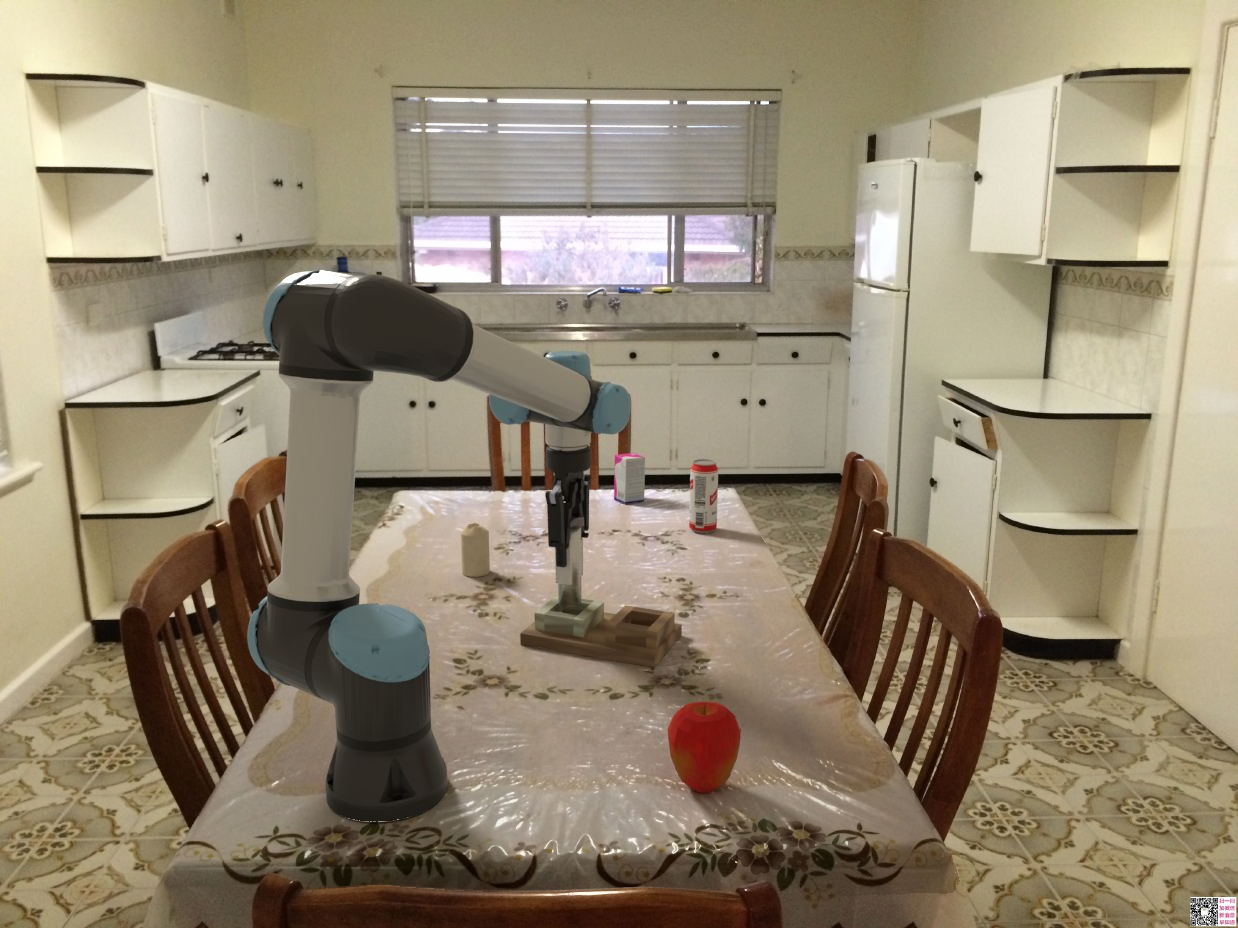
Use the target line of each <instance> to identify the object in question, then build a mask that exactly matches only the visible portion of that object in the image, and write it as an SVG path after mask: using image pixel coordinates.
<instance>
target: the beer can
mask: <svg viewBox="0 0 1238 928" xmlns="http://www.w3.org/2000/svg"><path fill="white" fill-rule="evenodd" d="M692 463H693V464H692V465H691V468H690V472H689V473H690V474H689V475H690V477H689V512H688V513H689V514H688V515H689V520H688V522H689V523H688V527H689V528H690V530H691V531H692V532H693V533H696V534H703V533H705V534H711V533H713V532H714V531H715V530H716V529H717V527H718V495H719V494H718V492H719V491H718V489H719V488H718V487H719V468H718V466H717V461H716V460H713V459H707V458H706V459H705V458H702V459H701V458H700V459H695V460H693V461H692ZM710 532H711V533H710Z"/></svg>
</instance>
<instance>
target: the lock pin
mask: <svg viewBox="0 0 1238 928" xmlns="http://www.w3.org/2000/svg"><path fill="white" fill-rule="evenodd" d="M583 526H584V517H583V516H582V515H571V522H570V541H569V547H572V584H571V585H566V584H559V583H557V590H558V591H557V595H558V604H559V605H561V606H564V607H575V606H578V605H580V604H581V603H582V599H583V597H582V576H581V527H583Z"/></svg>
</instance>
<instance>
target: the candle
mask: <svg viewBox="0 0 1238 928" xmlns="http://www.w3.org/2000/svg"><path fill="white" fill-rule="evenodd" d="M460 545H461V547H460V548H461V572H462V574H463V576H465V577H470V578H480V577H483V576H487V575H489V574H490V573H491V572H490V570H491V568H490V567H491V562H490V561H491V560H490V559H491V558H490V532H489V530H488V529H487V528H486V527H484V526H483V525H481V524H480V523H476V522H473V523H469V524H468V525H466V526H465V528H463V529H462V530H461V532H460Z"/></svg>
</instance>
